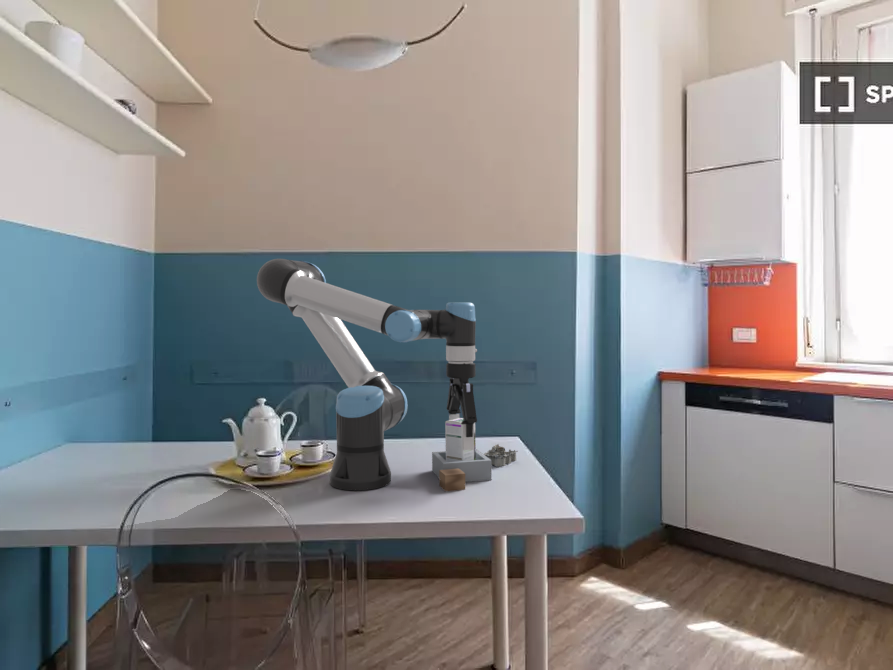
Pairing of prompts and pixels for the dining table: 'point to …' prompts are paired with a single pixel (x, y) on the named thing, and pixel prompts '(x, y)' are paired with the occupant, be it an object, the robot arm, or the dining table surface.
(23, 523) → the dining table surface
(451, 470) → the walnut stub
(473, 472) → the socket
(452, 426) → the syrup box
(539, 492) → the dining table surface
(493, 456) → the egg carton
